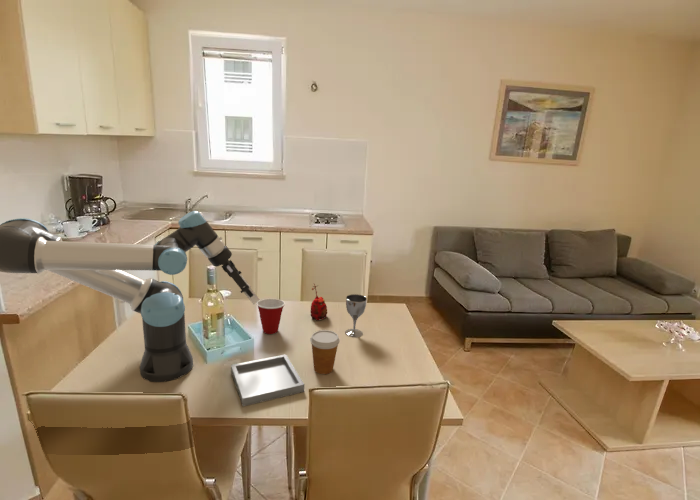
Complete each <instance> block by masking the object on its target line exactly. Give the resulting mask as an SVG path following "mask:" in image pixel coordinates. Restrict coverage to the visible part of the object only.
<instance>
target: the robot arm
mask: <svg viewBox="0 0 700 500" xmlns="http://www.w3.org/2000/svg"><path fill="white" fill-rule="evenodd" d="M177 223H178V226H179V227H178V228H177V229H176V230H174V231H173V232H172V233H169V235H167V236H165V237H163V238H162V239H160V240H159V241H157V242H156V243H155V244H141V243H140V244H139V243H116V242H91V241H90V242H89V241H88V242H87V241H65V240H64V241H63V238H62V237H61V236H59V235H57V234H55V233H53V232H51V231H50V230H49V229H48V228H47V227H46V226H45V225H44V224H43V223H42V222H39V221H38V220H36V219H33V218H32V219H31V218H25V217H23V218H14V219H9V220H6V221H5V222H2V223H1V224H0V273H7V274H42V273H43V272H45V271H48V272H51V273H53V274H56V275H57V276H60V277H63V278H66V279H68V280H70V281H73V282H75V283H76V284H79V285H82V286H84V287H88V288H89V289H92V290H94V291H97V292H100V293H102V294H105V295H107V296H110V297H112V298H114V299H116V300H119V301H121V302H124V303H126V304H128V305H129V306H130V309H131V310H132V312H136V313H137V314H140V316H141V318H142V319H141V321H142V331H143V343H144V350H143V354H142V358H141V361H140V364H139V371H140V376H141V378H143V379H144V380H146V381H149V382H153V383H155V382H156V383H157V382H158V383H161V382H163V383H164V382H170V381H174V380H176V379H179V378H181V377H184V376H186V375H187V374H189V372H191V370H192V368H193V367H194V357H193V354H192V353H191V350H190V348H189V346H188V343H187V336H186V334H187V333H186V319H185V318H186V317H185V316H186V314H185V311H186V306H185V303H184V296H183V293H182V291H181V289H180V288H179V286H177V285H176V284H174V283H172V282H169V281H167V280H166V281H164V280H162V281H159V280H157V279H154V278H153V277H149V278H146V279H142V278H140V277H138V276H135V275H133V274H131V273H130V272H127V271H160V272H163V273H164V274H166V275H170V276H174V275H178V274H180V273H182V272H183V271H184V270H185V269H186V266H187V265H188V256H187V252H188V251H189V250H191V249H192V248H194V247H197V248H198V250H199V251H200V252H201V253H202V254H203V256H205V258H207V260H208V261H209V263H210V264H211V265H212V266H213V267H214V268H215V267H219V266H221V268H222V270H223V271H224V272H225V273H226V274H227V276H229V277H230V278H232V280H233V281H234V283H235V284H236V285H237V286H238V287H239V289H240V291H239V292H240V293H241V294H244V295H245V296H246V298H248V300H249V301H250V302H251V303H252V305H255V304H256V303H257V302H258V301H259V300H261V299H260V298H259V296H257V294H256V293H255V292H254V290H253V289H252V286H251V285H250V284H249V283H248V281H247V280H246V279H245V277H244V276H243V275H242V272H241V270H238V268H237V267H236V265H235V263H234V262H233V260H232V259H231V257H232V255H233V254H232V253H233V252H232V251H231V249H229V247H228V246H227V245H225V243H224V241H223V237H222V236H218V234H217V233H216V231H215V230H214V229H213V227H212V226H211V225H210V223H209V222H208V221H207V219H205V218H204V216H203V215H202V214H201V213H200V212H199V211H198V210H193V211H190V212H188V213H186V214H184V215H183V216H182V217H180V219H179V220H178V221H177ZM229 259H230V260H229Z"/></svg>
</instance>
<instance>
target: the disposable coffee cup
mask: <svg viewBox="0 0 700 500" xmlns="http://www.w3.org/2000/svg"><path fill="white" fill-rule="evenodd" d="M309 341H310V343H311V350H312V351H311V352H312V363H313V370H314V372H316V373H317V374H319V375H329V374H331V373H332V372H333V371H334V366H335V361H336V356H337V351H338V346H339V344H340V341H341V340H340V337H339V334H338V333H337V332H335V331H333V330H328V329H321V330H317V331H314V332H313V333H312V334H311V337H310V340H309Z"/></svg>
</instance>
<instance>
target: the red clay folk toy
mask: <svg viewBox="0 0 700 500" xmlns="http://www.w3.org/2000/svg"><path fill="white" fill-rule="evenodd" d="M318 286H319V285H318V284H317V285H316V284H315V283H313V285H312V288H311V290H312V291H314V290H315V298H314V299H313V300H312V302H311V305H310V316H311V317H312V319H313V320H316V321H321V320H324V319H326V318H327V315H328V307H327V304H326V302H325V299H324V297H323V296H320V297H319V295H318V291H317V287H318Z"/></svg>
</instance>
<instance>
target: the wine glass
mask: <svg viewBox="0 0 700 500" xmlns="http://www.w3.org/2000/svg"><path fill="white" fill-rule="evenodd" d="M345 298H346V299H345V306H346V307H345V308H346V312H347V313H348V315H349V316H350V317H351V318H352V323H353V327H352V328H350V329H349V328H348V329H346V330H345V331H344V332H345V335H346V336H347V337H350V338H360V337H362V336H363V335H364V332H363V331H362V330H360V329H357V328H356V325H357V321H358V319H359V318H360V317H362V315H363V314H364V313H365V310H366V307H367V302H368V299H367V297H366V296H365V295H362V294H360V293H359V294H358V293H352V294H348V295H347V296H346V297H345Z"/></svg>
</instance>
